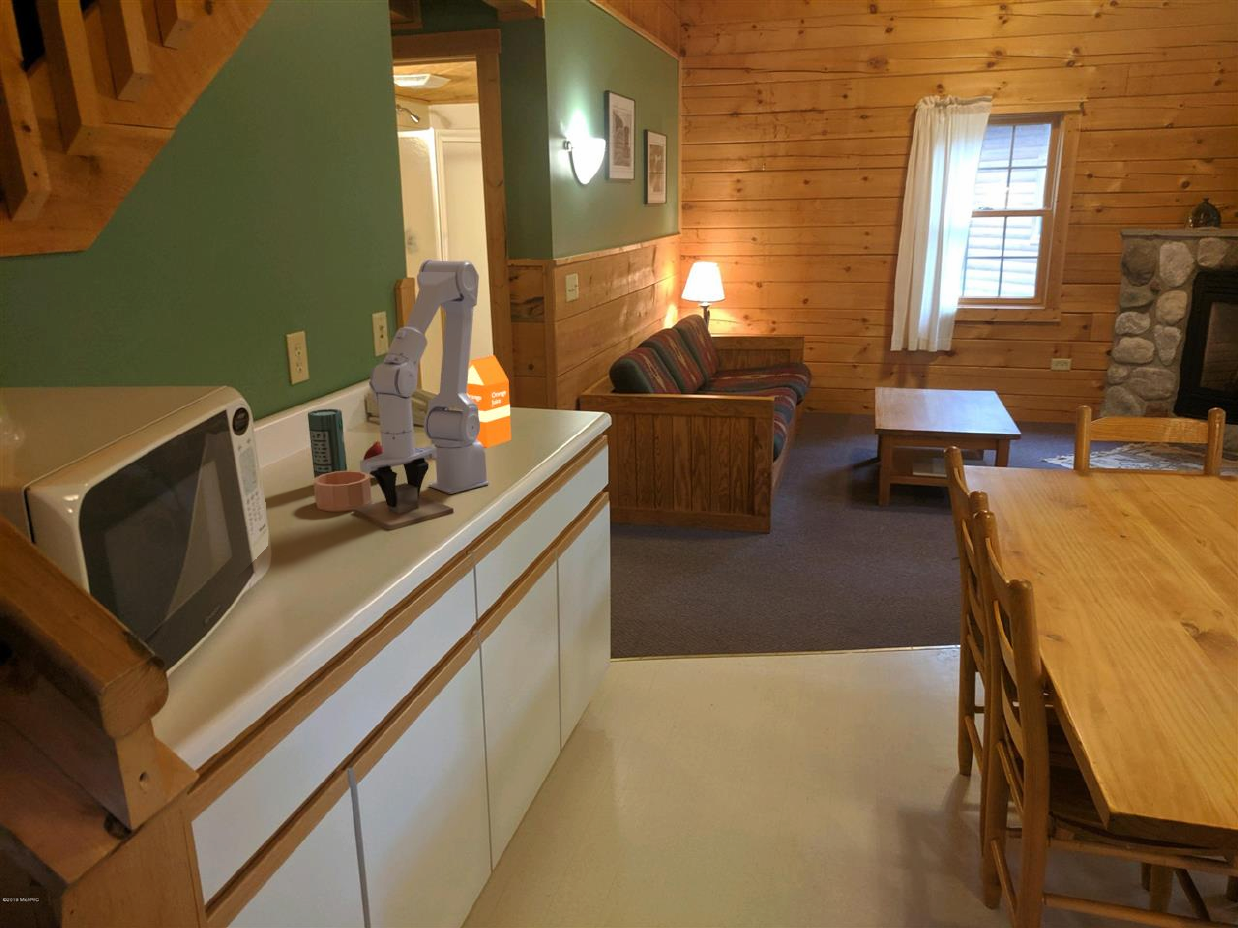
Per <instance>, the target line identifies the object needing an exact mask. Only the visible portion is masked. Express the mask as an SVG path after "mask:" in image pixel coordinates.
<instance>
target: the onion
mask: <svg viewBox="0 0 1238 928" xmlns="http://www.w3.org/2000/svg"><path fill="white" fill-rule="evenodd" d="M380 454H383V453H382V441H381V440H375V441H374V442H373V444H372V446H370V447H369V448H368V449H367V451H365V454H364V456H363V459H362V460H366V459H369V458H372V457H375V456H378V455H380ZM390 469H392V467H390ZM368 474H370V476H372V477H374V475H373V474H372V472H371V473H368Z"/></svg>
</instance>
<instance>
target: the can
mask: <svg viewBox="0 0 1238 928" xmlns="http://www.w3.org/2000/svg"><path fill="white" fill-rule="evenodd" d="M307 420H308V421H307V422H308V430H309V438H310V449H311V457H312V458H311V460H312V466H313V468H312V469H313V477H314V479H315V478H316V477H318V476H320V475H322V474H326V473H331V472H335V471H348V465H347V455H346V454H347V453H346V443H345V433H344V422H343V413H342V409H337V408H324V409H316V410H311V411H308V412H307ZM314 479H313V480H314Z"/></svg>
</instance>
